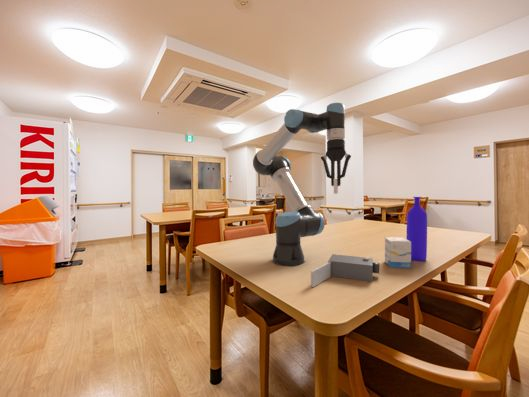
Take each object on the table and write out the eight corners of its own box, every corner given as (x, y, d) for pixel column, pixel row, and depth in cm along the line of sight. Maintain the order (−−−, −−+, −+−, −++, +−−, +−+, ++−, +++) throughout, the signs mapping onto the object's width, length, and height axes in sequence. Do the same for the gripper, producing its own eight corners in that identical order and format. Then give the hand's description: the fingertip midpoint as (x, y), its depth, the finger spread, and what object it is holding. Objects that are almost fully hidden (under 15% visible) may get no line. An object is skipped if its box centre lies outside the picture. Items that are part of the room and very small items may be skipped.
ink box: (411, 268, 101) (412, 241, 101) (390, 267, 103) (390, 240, 102) (404, 262, 110) (404, 237, 109) (384, 261, 111) (384, 236, 111)
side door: (327, 275, 95) (327, 261, 94) (331, 276, 93) (331, 261, 93) (309, 286, 84) (309, 270, 84) (313, 287, 83) (313, 271, 83)
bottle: (427, 262, 108) (428, 197, 107) (406, 259, 113) (406, 197, 111) (426, 257, 115) (427, 196, 114) (406, 255, 120) (407, 196, 118)
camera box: (328, 275, 94) (328, 258, 94) (332, 267, 104) (332, 252, 103) (379, 282, 87) (379, 264, 86) (379, 273, 96) (379, 256, 95)
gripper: (319, 140, 104) (319, 193, 105) (350, 136, 98) (350, 193, 99) (322, 142, 110) (322, 193, 111) (352, 140, 105) (352, 193, 106)
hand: (335, 193), depth 105 cm, fingers closed
